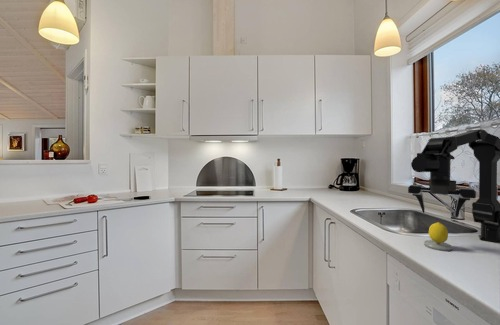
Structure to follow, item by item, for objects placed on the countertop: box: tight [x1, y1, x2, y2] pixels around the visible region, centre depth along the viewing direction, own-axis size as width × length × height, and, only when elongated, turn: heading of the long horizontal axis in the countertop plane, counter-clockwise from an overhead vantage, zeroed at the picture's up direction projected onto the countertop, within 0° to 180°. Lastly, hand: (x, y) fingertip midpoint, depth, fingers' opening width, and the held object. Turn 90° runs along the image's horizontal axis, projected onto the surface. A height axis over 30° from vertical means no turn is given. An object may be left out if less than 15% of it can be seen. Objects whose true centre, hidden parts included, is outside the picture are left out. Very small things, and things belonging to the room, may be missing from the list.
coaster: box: [423, 239, 453, 252], centre depth 86 cm, size 8×8×1 cm
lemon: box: [428, 221, 449, 244], centre depth 86 cm, size 6×6×8 cm
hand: (439, 214), depth 86 cm, fingers open, 9 cm apart
